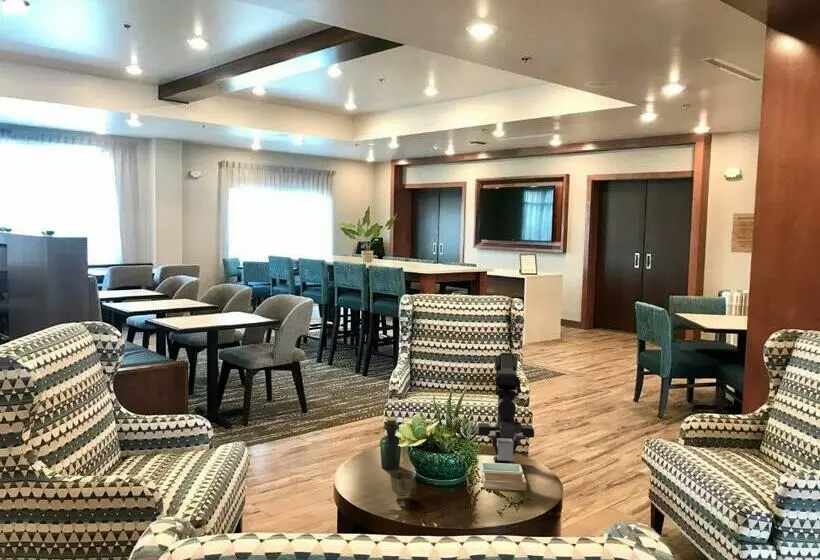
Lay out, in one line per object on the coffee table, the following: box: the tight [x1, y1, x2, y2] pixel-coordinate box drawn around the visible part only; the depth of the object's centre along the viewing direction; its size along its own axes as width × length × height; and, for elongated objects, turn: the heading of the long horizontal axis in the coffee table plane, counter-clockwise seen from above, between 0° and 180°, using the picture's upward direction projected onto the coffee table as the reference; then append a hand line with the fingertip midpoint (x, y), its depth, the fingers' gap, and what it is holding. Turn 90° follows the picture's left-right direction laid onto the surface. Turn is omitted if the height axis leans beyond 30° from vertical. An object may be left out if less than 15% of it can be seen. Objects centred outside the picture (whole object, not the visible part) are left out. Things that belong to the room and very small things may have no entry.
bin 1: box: [480, 462, 524, 476], centre depth 225 cm, size 8×14×4 cm, turn 87°
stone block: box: [497, 438, 514, 462], centre depth 215 cm, size 5×5×6 cm
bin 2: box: [481, 472, 528, 491], centre depth 216 cm, size 8×14×4 cm, turn 87°
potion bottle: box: [379, 417, 402, 471], centre depth 232 cm, size 8×8×18 cm
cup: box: [389, 470, 414, 501], centre depth 204 cm, size 8×7×8 cm
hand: (504, 455), depth 215 cm, fingers closed on stone block, 5 cm apart
